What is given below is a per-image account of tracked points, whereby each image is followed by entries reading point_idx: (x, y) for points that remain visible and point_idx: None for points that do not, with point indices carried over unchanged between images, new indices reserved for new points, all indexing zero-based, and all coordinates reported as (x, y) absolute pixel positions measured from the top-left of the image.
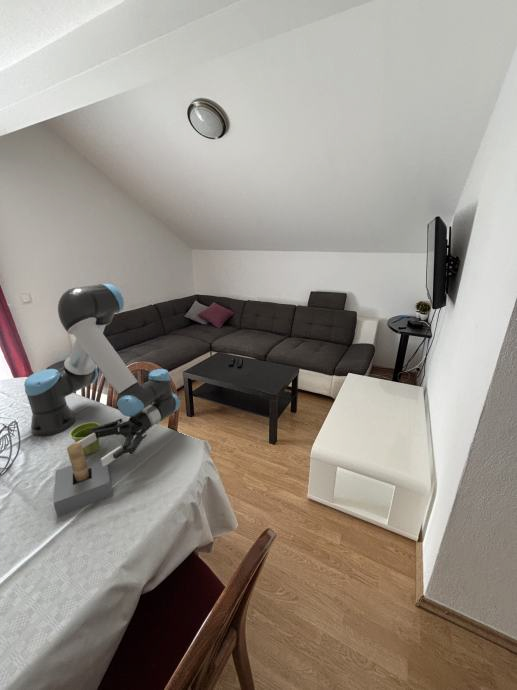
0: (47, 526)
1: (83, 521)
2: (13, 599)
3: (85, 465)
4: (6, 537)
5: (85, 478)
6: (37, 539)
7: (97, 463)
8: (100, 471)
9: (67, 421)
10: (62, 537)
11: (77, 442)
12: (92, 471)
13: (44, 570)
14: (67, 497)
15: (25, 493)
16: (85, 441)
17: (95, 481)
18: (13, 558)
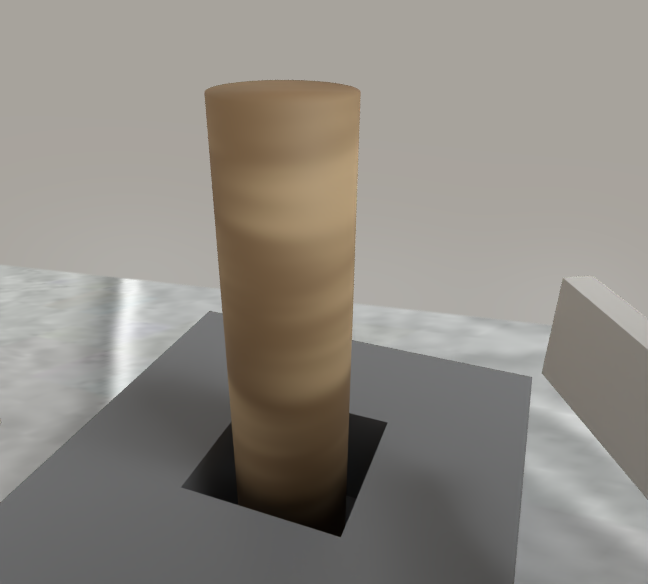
0: None
1: (35, 454)
2: (29, 277)
3: (237, 368)
4: None
5: (234, 456)
6: (174, 337)
7: None
8: (187, 573)
9: None
10: (69, 380)
11: (602, 293)
12: (270, 524)
13: (10, 323)
14: (171, 348)
15: (533, 365)
16: (634, 388)
17: (105, 487)
18: (175, 295)
